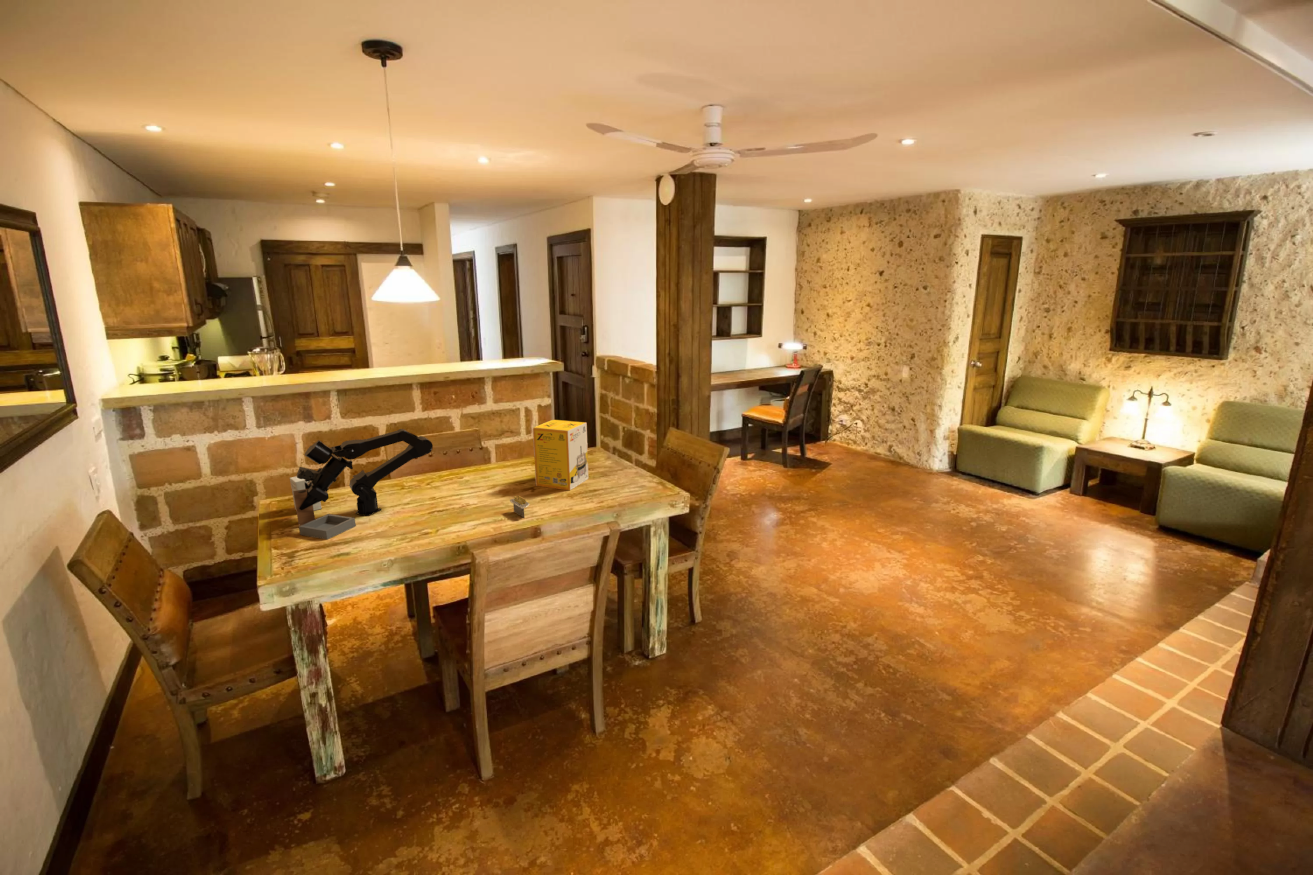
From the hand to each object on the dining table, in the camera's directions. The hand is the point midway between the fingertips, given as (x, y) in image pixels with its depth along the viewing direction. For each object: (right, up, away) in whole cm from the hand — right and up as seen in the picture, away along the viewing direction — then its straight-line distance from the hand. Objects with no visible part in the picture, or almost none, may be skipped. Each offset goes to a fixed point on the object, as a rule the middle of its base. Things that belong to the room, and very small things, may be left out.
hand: (299, 507), depth 210 cm
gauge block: (+1, -6, +2) cm, 7 cm away
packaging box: (+85, +5, +46) cm, 96 cm away
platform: (+75, -4, +11) cm, 76 cm away
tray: (+12, -8, -3) cm, 14 cm away
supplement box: (-6, -3, +16) cm, 18 cm away
